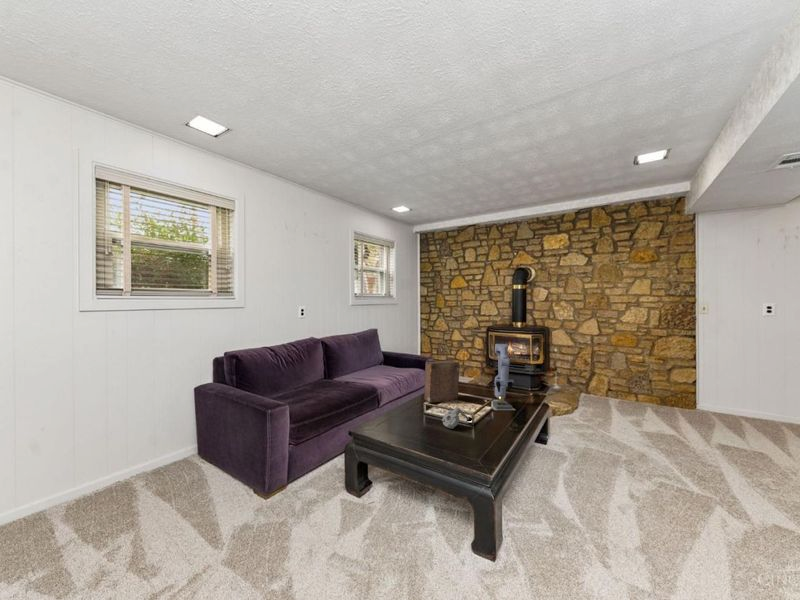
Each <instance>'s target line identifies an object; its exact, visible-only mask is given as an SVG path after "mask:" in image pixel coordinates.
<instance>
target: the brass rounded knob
mask: <svg viewBox="0 0 800 600" xmlns="http://www.w3.org/2000/svg"><path fill="white" fill-rule="evenodd" d="M498 400H499V402H498V405H504V401H505V398H504V395H499V398H498Z"/></svg>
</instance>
